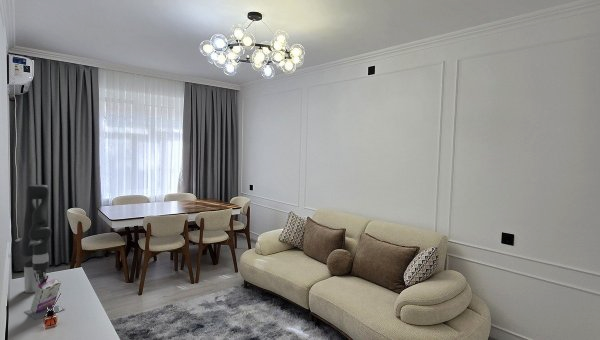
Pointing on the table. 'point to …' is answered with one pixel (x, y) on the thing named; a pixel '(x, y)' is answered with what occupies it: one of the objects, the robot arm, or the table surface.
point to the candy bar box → (45, 295)
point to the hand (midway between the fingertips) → (41, 289)
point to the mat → (41, 312)
